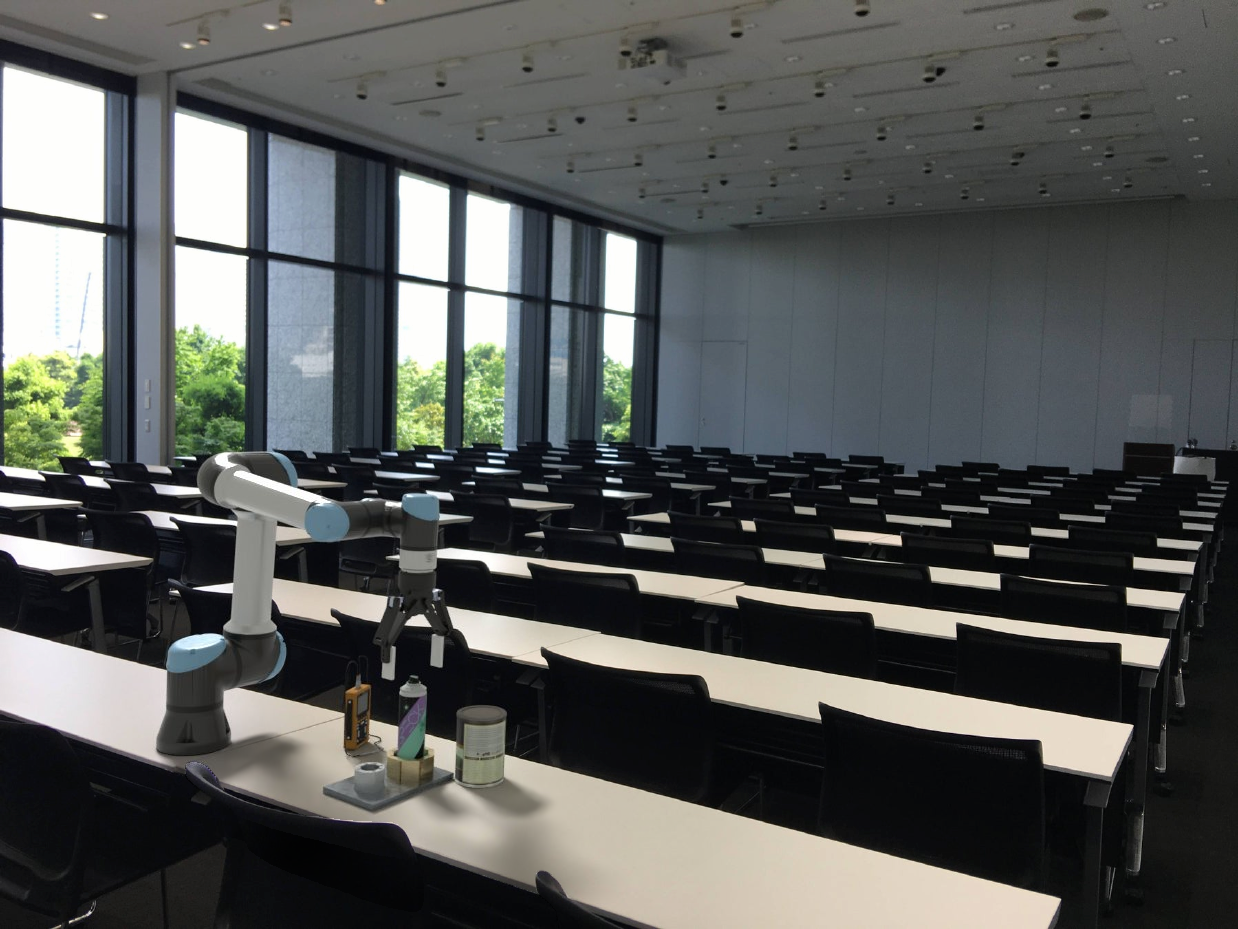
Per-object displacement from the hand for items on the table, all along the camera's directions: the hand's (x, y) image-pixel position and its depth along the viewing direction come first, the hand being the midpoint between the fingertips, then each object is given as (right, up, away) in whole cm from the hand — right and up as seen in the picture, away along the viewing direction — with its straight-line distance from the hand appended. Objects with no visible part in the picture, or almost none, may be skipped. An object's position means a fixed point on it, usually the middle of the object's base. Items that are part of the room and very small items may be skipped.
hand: (412, 672), depth 199 cm
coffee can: (+13, -23, +2) cm, 26 cm away
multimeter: (-13, -21, +18) cm, 31 cm away
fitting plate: (-4, -22, -4) cm, 23 cm away
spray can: (-1, -21, +1) cm, 21 cm away
